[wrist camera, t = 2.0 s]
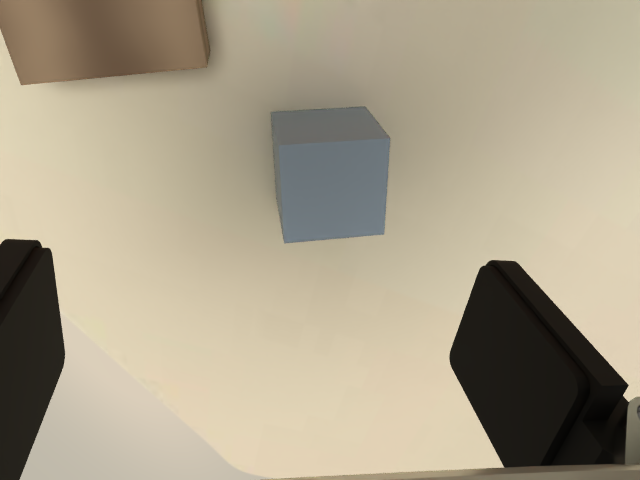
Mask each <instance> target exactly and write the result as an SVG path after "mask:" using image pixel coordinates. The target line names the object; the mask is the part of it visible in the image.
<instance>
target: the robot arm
mask: <svg viewBox="0 0 640 480" xmlns="http://www.w3.org/2000/svg"><path fill="white" fill-rule="evenodd" d="M64 359H65V349H64V341H63V333H62V326H61V318H60V311H59V303H58V295H57V288H56V280H55V273H54V265H53V258H52V252H51V250H50V249H49V248H42V246H41V243H40V242H39V241H38V240H17V239H5V240H4V241H3V242H2V243H1V245H0V480H19V479H20V477H21V474H22V472H23V469H24V467H25V464H26V461H27V459H28V456H29V454H30V451H31V449H32V446H33V444H34V441H35V438H36V436H37V433H38V431H39V428H40V425H41V423H42V420H43V418H44V415H45V412H46V410H47V408H48V405H49V402H50V400H51V397H52V395H53V392H54V390H55V387H56V384H57V382H58V379H59V377H60V374H61V372H62V369H63V365H64ZM450 364H451V367H452V369H453V371H454V373H455V375H456V377H457V379H458V381H459V382H460V384H461V386H462V388H463V390H464V392H465V394H466V396H467V398H468V399H469V401H470V403H471V405H472V407H473V409H474V411H475V413H476V415H477V416H478V418H479V420H480V422H481V424H482V426H483V428H484V430H485V432H486V433H487V435H488V437H489V439H490V441H491V443H492V445H493V447H494V449H495V451H496V452H497V454H498V456H499V458H500V460H501V462H502V464H503V466H504V468H486V469H463V470H441V471H419V472H399V473H379V474H359V475H339V476H320V477H300V478H281V479H262V480H640V397H635V398H634V399H632V400H631V401H630V402H628V401H627V400H626V399H625V398H624V397H623V394H624V392H625V391H626V389H627V387H628V386H629V385H628V384H627V383H626V382H625V381H624V380H623V378H622V377H621V376H620V375H619V374H618V373H617V372H616V371H615V370H614V369H613V367H612V366H611V365H610V364H609V363H608V362H607V361H606V360H605V359H604V358H603V356H602V355H601V354H600V353H599V352H598V351H597V350H596V349H595V348H594V347H593V345H592V344H591V343H590V342H589V341H588V340H587V339H586V338H585V337H584V336H583V334H582V333H581V332H580V331H579V330H578V329H577V328H576V327H575V326H574V325H573V323H572V322H571V321H570V320H569V319H568V318H567V317H566V316H565V315H564V314H563V312H562V311H561V310H560V309H559V308H558V307H557V306H556V305H555V304H554V303H553V301H552V300H551V299H550V298H549V297H548V296H547V295H546V294H545V293H544V292H543V290H542V289H541V288H540V287H539V286H538V285H537V284H536V283H535V282H534V281H533V279H532V278H531V277H530V276H529V275H528V274H527V273H526V272H525V271H524V270H523V268H522V267H521V266H520V265H519V264H518V263H517V262H515V261H500V260H491V261H489V262H488V263H487V264H486V266H482V267H481V268H480V270H479V272H478V275H477V277H476V280H475V283H474V286H473V289H472V291H471V294H470V297H469V300H468V303H467V306H466V308H465V311H464V314H463V317H462V320H461V323H460V325H459V328H458V331H457V334H456V337H455V339H454V342H453V345H452V348H451V351H450Z"/></svg>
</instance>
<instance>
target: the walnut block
mask: <svg viewBox="0 0 640 480" xmlns="http://www.w3.org/2000/svg"><path fill="white" fill-rule="evenodd" d="M0 29H1V32H2V35H3V37H4V40H5V43H6V46H7V48H8V51H9V54H10V56H11V59H12V62H13V65H14V67H15V70H16V73H17V75H18V78H19V81H20V83H21V85H28V84H39V83H49V82H59V81H70V80H80V79H90V78H101V77H111V76H122V75H132V74H142V73H153V72H163V71H174V70H184V69H194V68H205V67H207V65H208V59H209V54H210V48H209V42H208V36H207V30H206V24H205V18H204V12H203V6H202V0H0Z"/></svg>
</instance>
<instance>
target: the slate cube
mask: <svg viewBox="0 0 640 480" xmlns="http://www.w3.org/2000/svg"><path fill="white" fill-rule="evenodd" d="M271 121H272V137H273V153H274V168H275V184H276V199H277V205H278V211H279V216H280V222H281V228H282V234H283V239H284V243H292V242H304V241H315V240H326V239H337V238H349V237H360V236H371V235H382V234H384V228H385V212H386V196H387V180H388V164H389V148H390V137H389V136H388V135H387V134H386V132H385V131H384V130H383V129H382V127H381V126H380V125H379V123H378V122H377V121H376V120H375V118H374V117H373V116H372V115H371V113H370V112H369V111H368V110H367V108H366V107H350V108H332V109H314V110H297V111H279V112H271Z"/></svg>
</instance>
